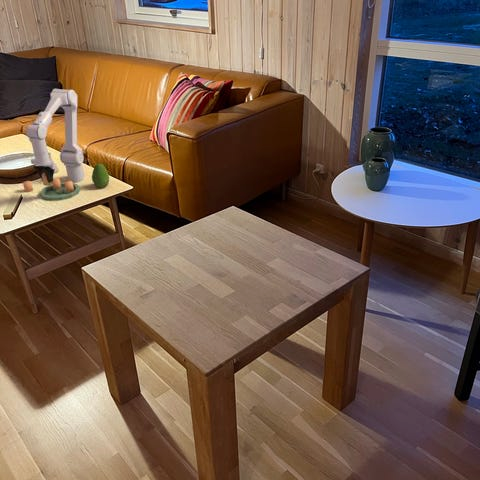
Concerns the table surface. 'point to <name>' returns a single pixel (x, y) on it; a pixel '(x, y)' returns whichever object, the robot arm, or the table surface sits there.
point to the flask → (53, 162)
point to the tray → (58, 192)
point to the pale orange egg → (45, 180)
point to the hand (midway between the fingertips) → (47, 181)
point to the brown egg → (28, 186)
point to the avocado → (100, 176)
